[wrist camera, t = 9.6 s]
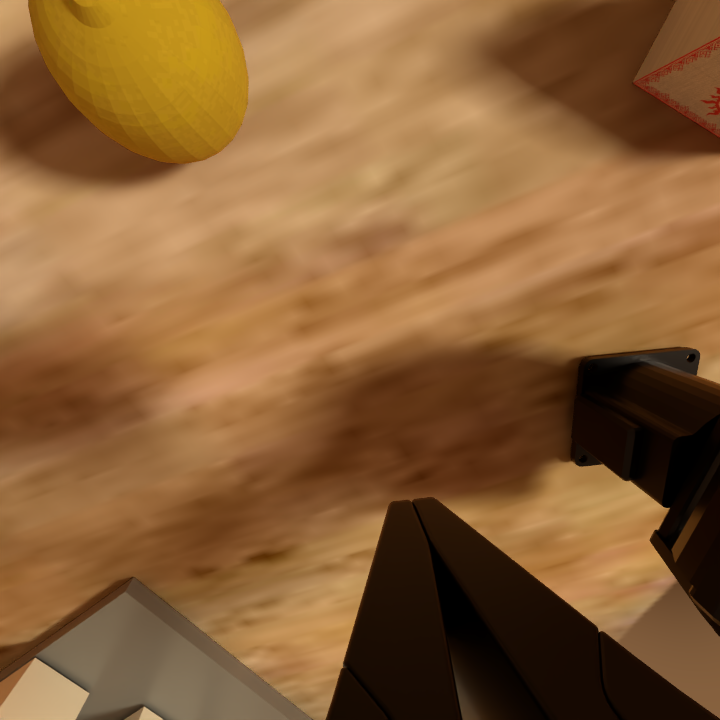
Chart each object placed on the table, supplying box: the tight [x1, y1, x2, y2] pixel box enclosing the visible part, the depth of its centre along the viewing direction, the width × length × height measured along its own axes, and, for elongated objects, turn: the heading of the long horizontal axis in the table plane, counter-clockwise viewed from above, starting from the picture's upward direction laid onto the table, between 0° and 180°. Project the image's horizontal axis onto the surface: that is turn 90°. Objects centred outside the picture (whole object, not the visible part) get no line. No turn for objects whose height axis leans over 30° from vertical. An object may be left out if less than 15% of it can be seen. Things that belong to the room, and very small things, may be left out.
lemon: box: [28, 0, 248, 164], centre depth 12 cm, size 6×6×8 cm
